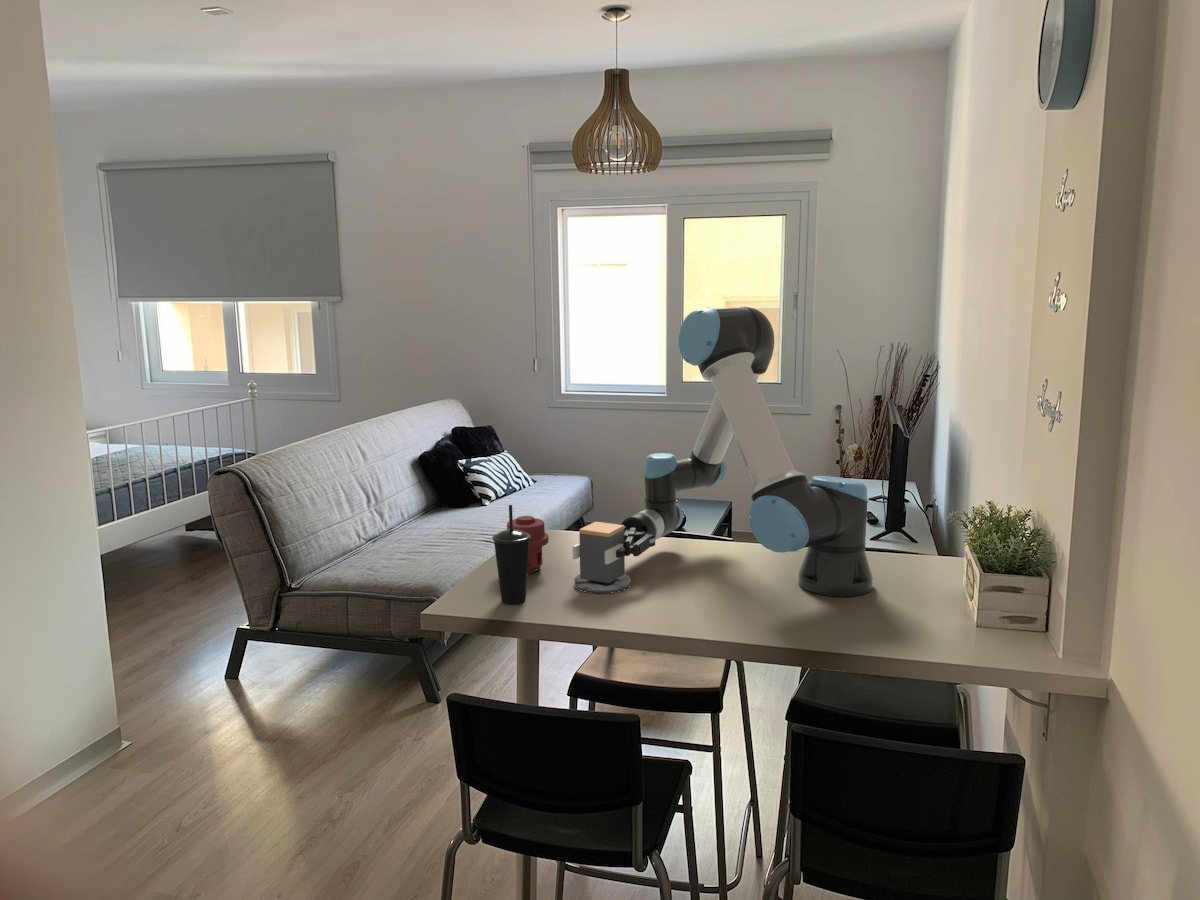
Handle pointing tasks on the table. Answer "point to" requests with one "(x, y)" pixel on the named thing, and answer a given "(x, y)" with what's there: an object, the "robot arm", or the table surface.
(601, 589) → the post base
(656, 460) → the robot arm
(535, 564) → the mechanical component
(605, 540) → the sleeve
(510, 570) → the drinking cup
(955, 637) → the table surface
